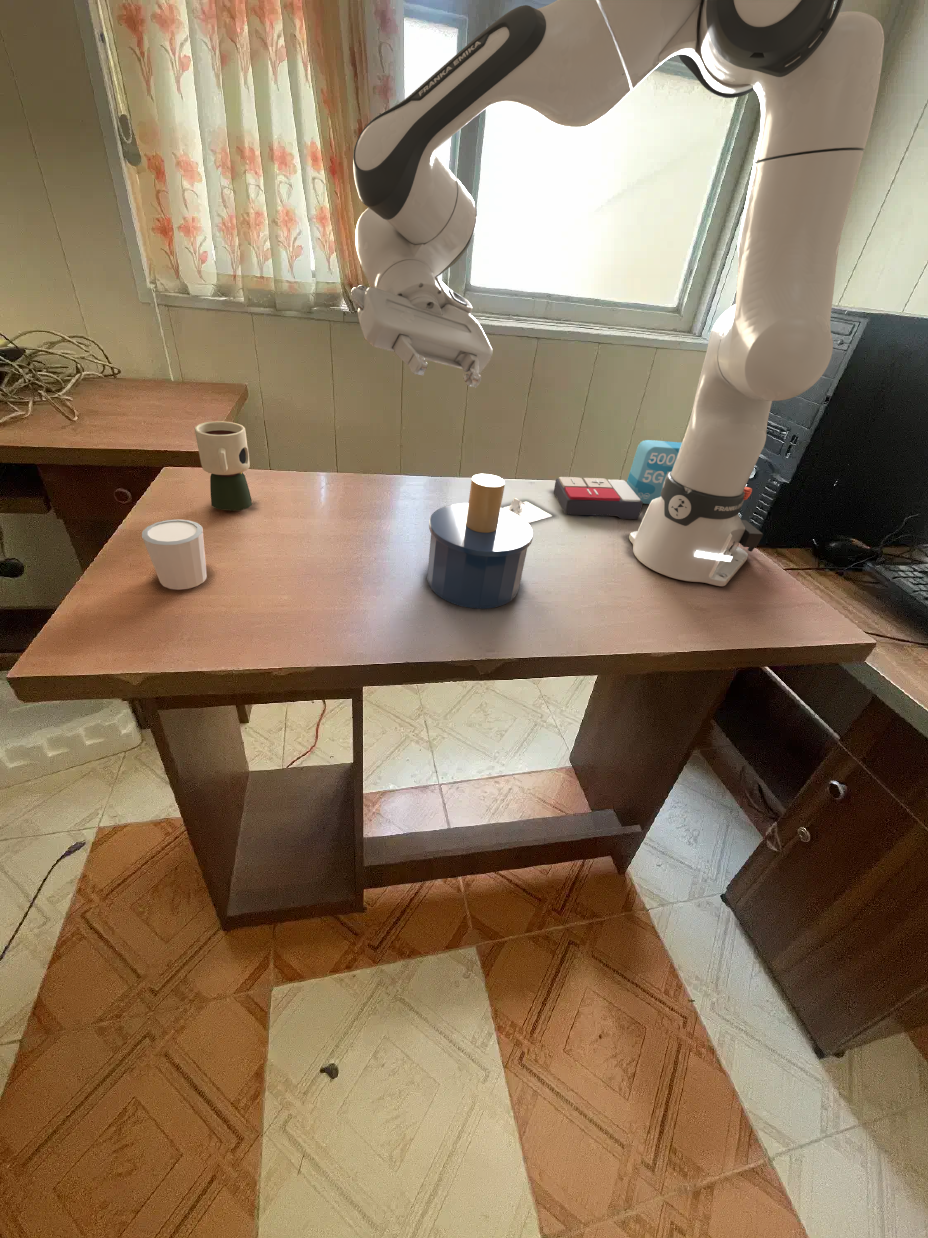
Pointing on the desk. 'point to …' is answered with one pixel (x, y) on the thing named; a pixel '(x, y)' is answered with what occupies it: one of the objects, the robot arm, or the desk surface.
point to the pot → (473, 576)
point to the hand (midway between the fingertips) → (449, 377)
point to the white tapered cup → (177, 552)
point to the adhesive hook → (517, 506)
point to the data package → (652, 468)
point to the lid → (482, 522)
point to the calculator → (597, 497)
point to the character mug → (225, 463)
